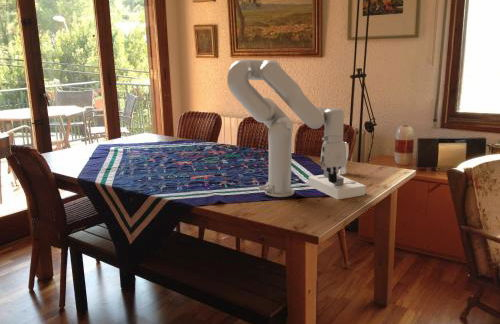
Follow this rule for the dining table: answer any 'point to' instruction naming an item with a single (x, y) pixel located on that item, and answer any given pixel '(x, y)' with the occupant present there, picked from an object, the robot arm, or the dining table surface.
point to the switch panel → (337, 187)
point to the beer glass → (343, 170)
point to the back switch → (326, 173)
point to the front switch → (339, 181)
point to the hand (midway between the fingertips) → (332, 181)
